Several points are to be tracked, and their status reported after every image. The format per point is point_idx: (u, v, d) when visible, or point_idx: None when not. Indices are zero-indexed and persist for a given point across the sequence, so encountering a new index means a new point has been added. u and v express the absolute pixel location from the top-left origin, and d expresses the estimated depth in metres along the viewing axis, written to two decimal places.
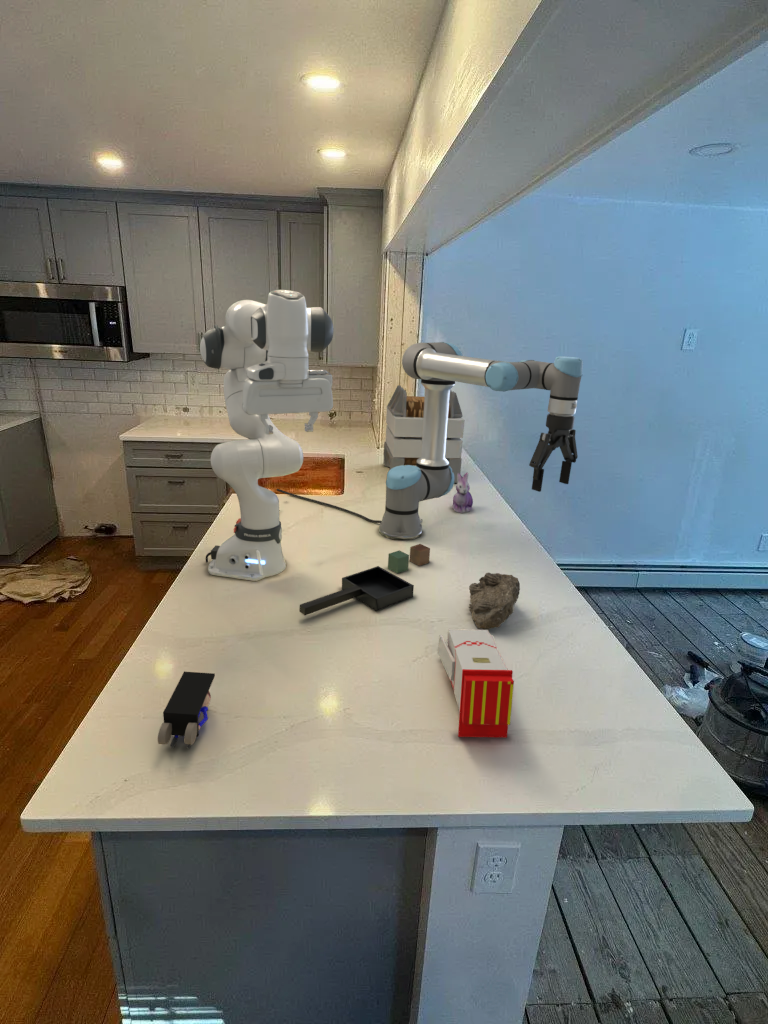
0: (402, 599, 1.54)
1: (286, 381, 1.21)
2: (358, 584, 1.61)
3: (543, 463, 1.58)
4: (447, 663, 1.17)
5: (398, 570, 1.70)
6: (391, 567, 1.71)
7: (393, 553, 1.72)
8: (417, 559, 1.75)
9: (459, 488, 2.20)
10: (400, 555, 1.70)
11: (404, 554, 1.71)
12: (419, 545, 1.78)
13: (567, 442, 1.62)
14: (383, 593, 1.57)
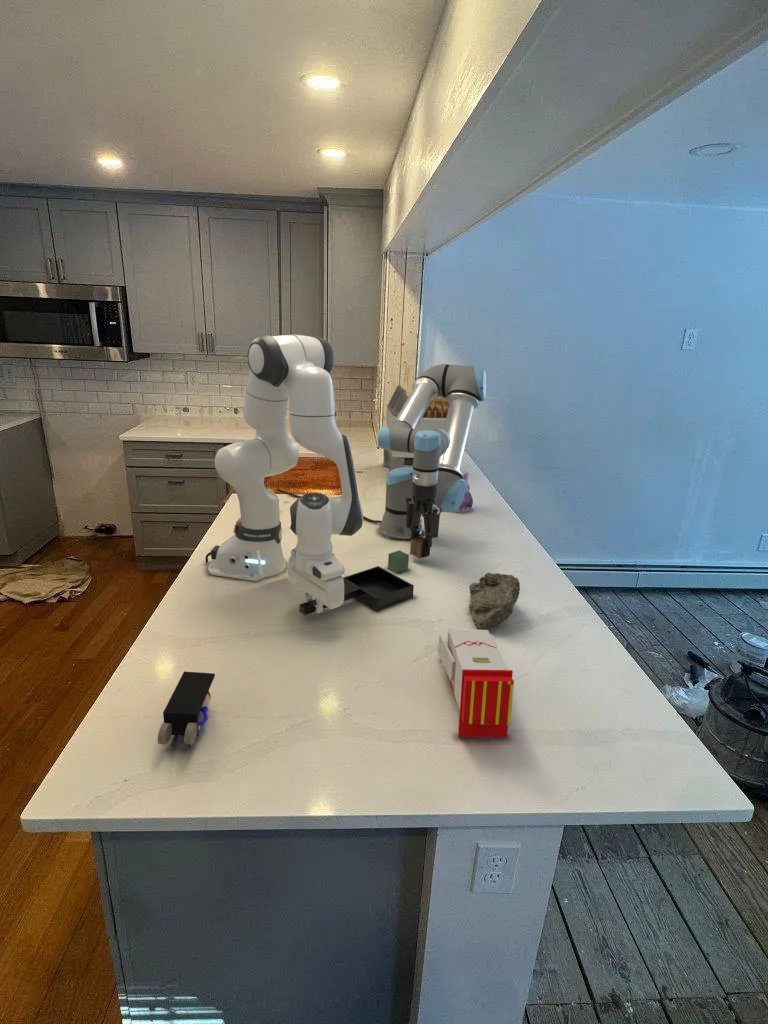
0: (402, 599, 1.54)
1: None
2: (358, 584, 1.61)
3: (411, 526, 1.76)
4: (447, 663, 1.17)
5: (398, 570, 1.70)
6: (391, 567, 1.71)
7: (393, 553, 1.72)
8: (418, 552, 1.75)
9: None
10: (400, 555, 1.70)
11: (404, 554, 1.71)
12: (420, 537, 1.78)
13: (423, 512, 1.70)
14: (383, 593, 1.56)
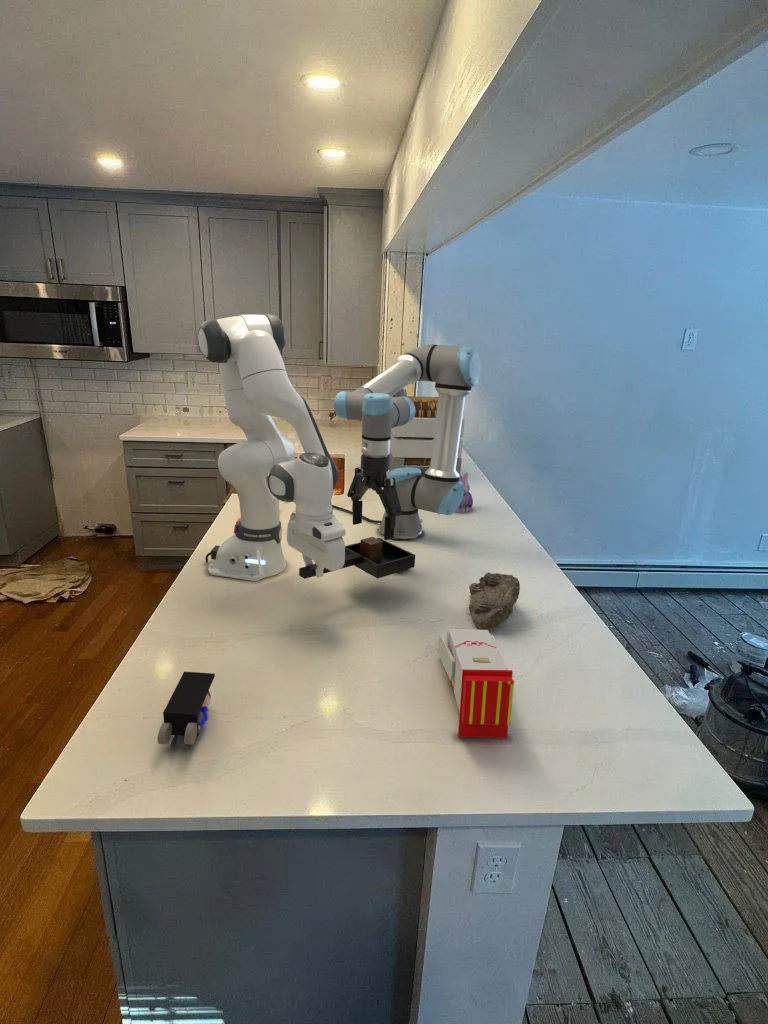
0: (403, 568, 1.51)
1: None
2: None
3: (354, 496, 1.55)
4: (447, 663, 1.17)
5: None
6: None
7: None
8: (368, 554, 1.53)
9: None
10: None
11: None
12: (371, 538, 1.56)
13: (375, 487, 1.47)
14: (384, 563, 1.53)
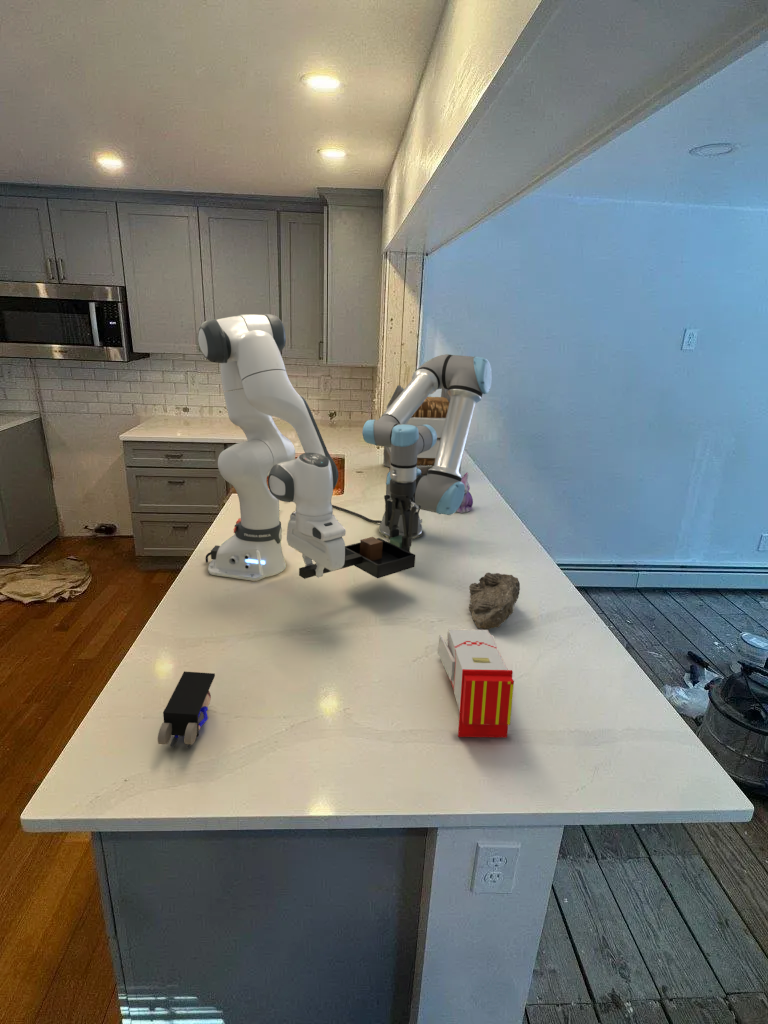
0: (403, 568, 1.51)
1: None
2: None
3: (390, 524, 1.70)
4: (447, 663, 1.17)
5: None
6: None
7: (394, 538, 1.70)
8: (368, 554, 1.53)
9: None
10: (401, 539, 1.69)
11: None
12: (371, 538, 1.56)
13: (401, 509, 1.64)
14: (384, 563, 1.53)
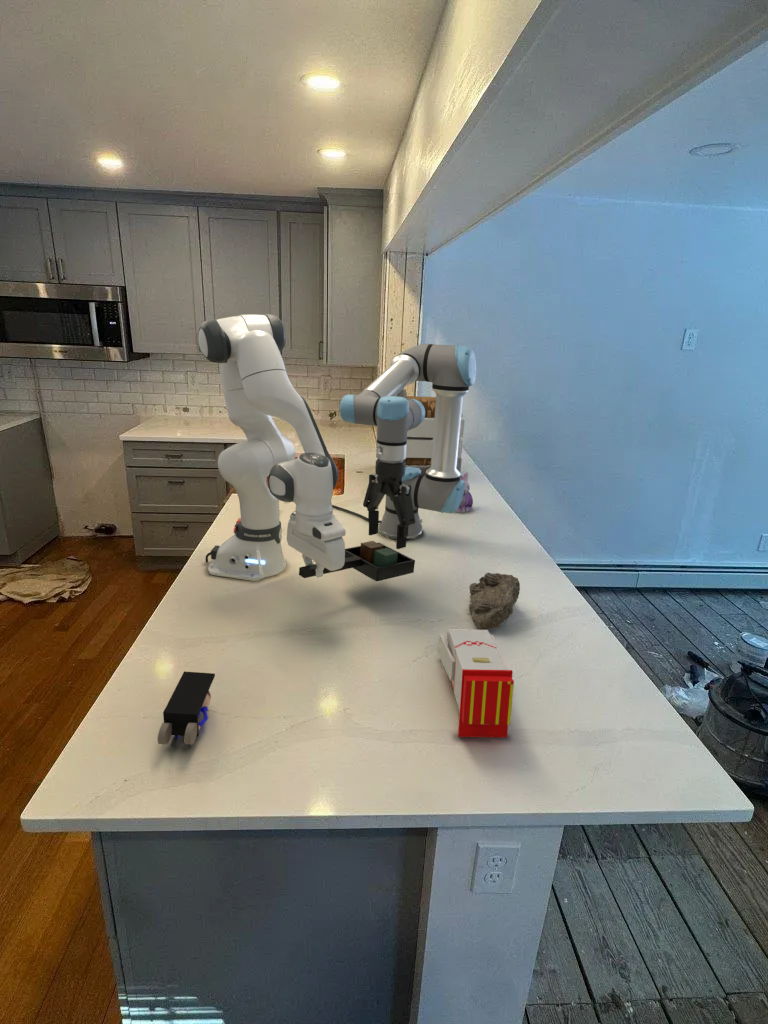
0: (403, 573, 1.51)
1: None
2: None
3: (370, 505, 1.51)
4: (447, 663, 1.17)
5: None
6: (377, 566, 1.51)
7: (380, 550, 1.51)
8: (368, 557, 1.54)
9: None
10: (388, 552, 1.50)
11: (392, 551, 1.51)
12: (371, 542, 1.57)
13: (390, 494, 1.42)
14: None
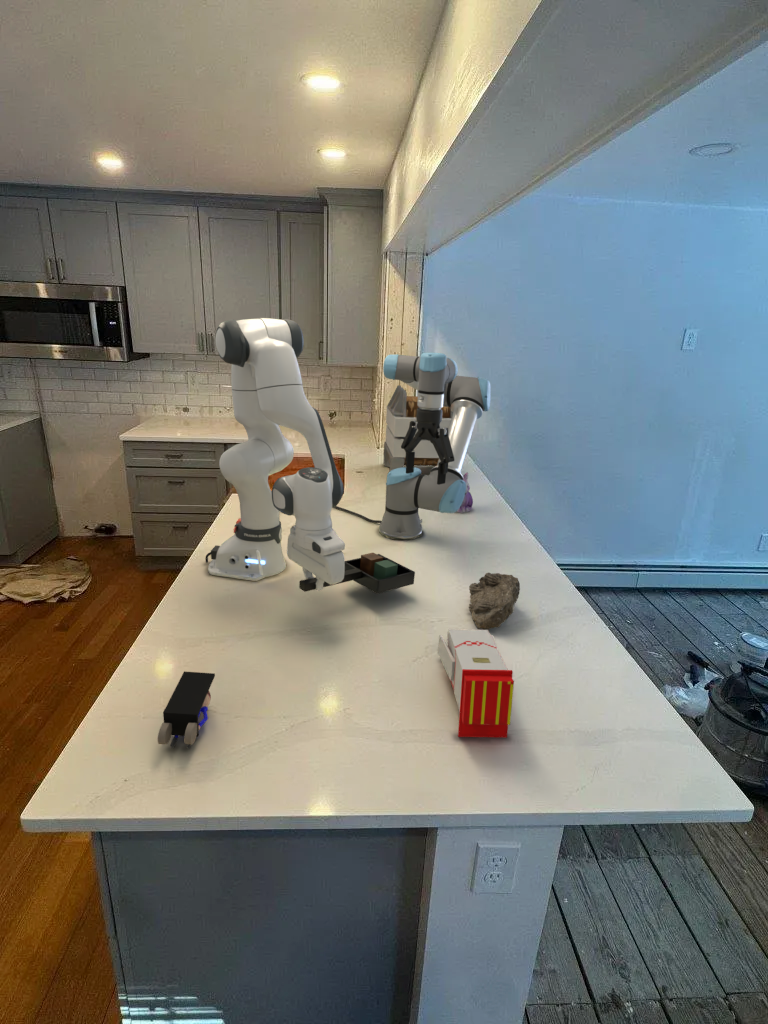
0: (403, 585, 1.52)
1: None
2: None
3: (408, 447, 1.73)
4: (447, 663, 1.17)
5: None
6: (377, 578, 1.52)
7: (380, 562, 1.52)
8: (368, 569, 1.55)
9: None
10: (387, 564, 1.51)
11: (392, 563, 1.52)
12: (371, 554, 1.58)
13: (430, 437, 1.65)
14: None
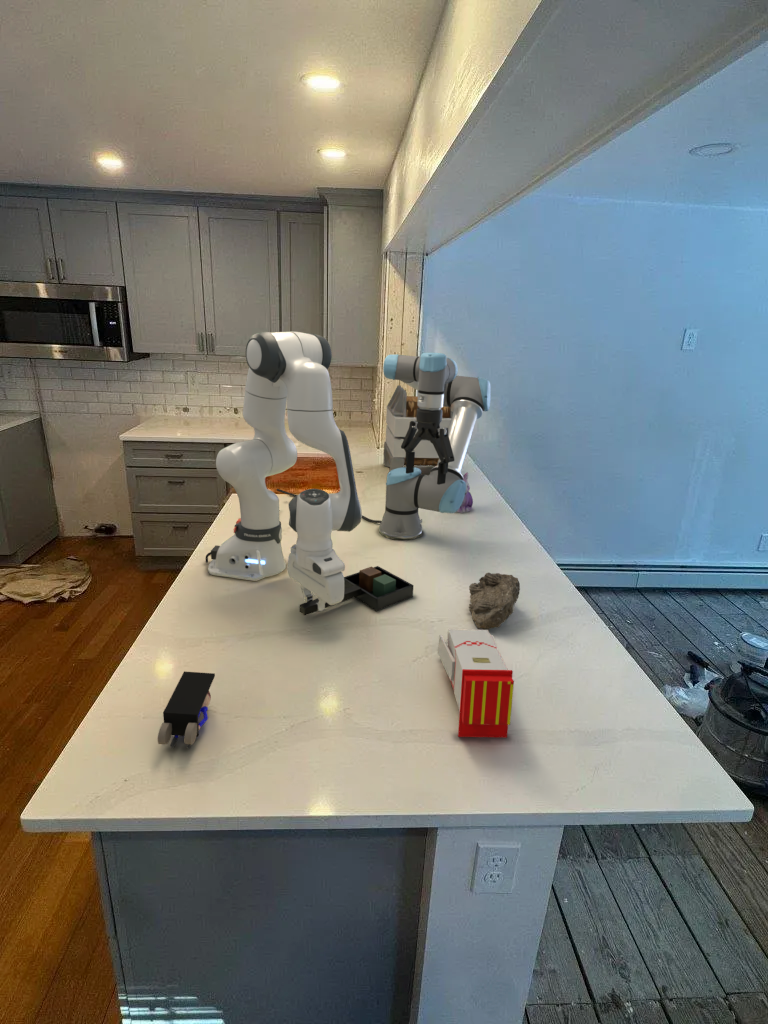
0: (402, 599, 1.54)
1: None
2: (358, 584, 1.61)
3: (408, 447, 1.73)
4: (447, 663, 1.17)
5: None
6: (376, 594, 1.54)
7: (378, 578, 1.54)
8: (367, 584, 1.57)
9: None
10: (386, 580, 1.53)
11: (390, 578, 1.54)
12: (370, 568, 1.59)
13: (430, 437, 1.65)
14: None
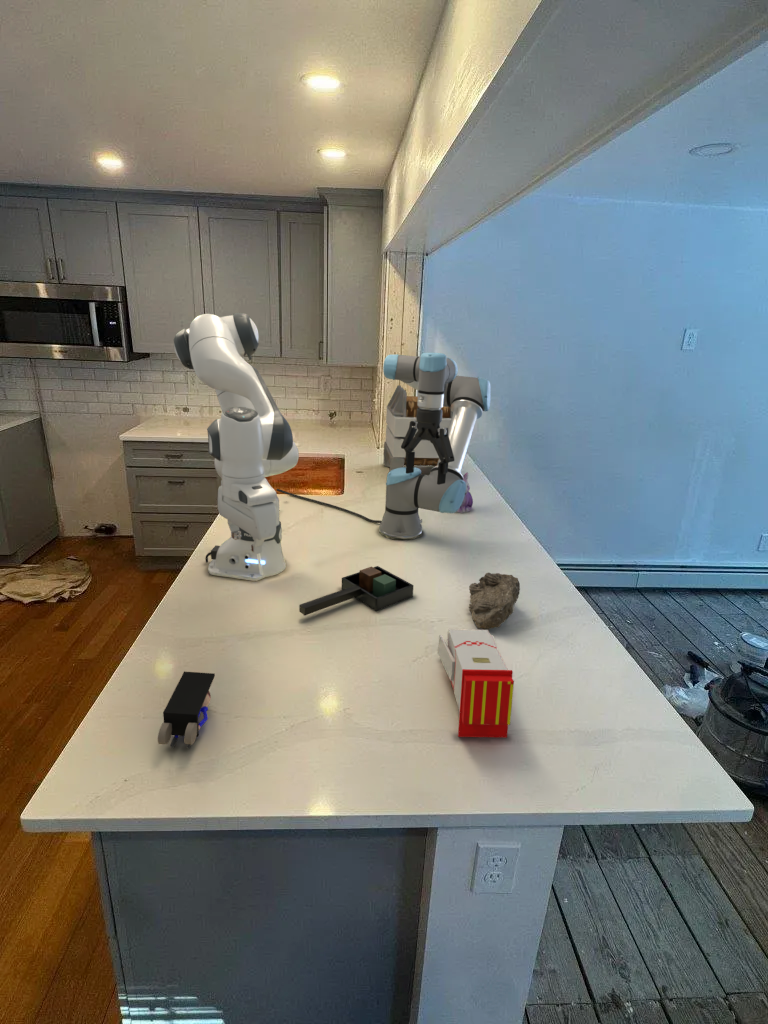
0: (402, 599, 1.54)
1: None
2: (358, 584, 1.61)
3: (408, 447, 1.73)
4: (447, 663, 1.17)
5: None
6: (376, 594, 1.54)
7: (378, 578, 1.54)
8: (367, 584, 1.57)
9: None
10: (386, 580, 1.53)
11: (390, 578, 1.54)
12: (370, 568, 1.59)
13: (430, 437, 1.65)
14: None
